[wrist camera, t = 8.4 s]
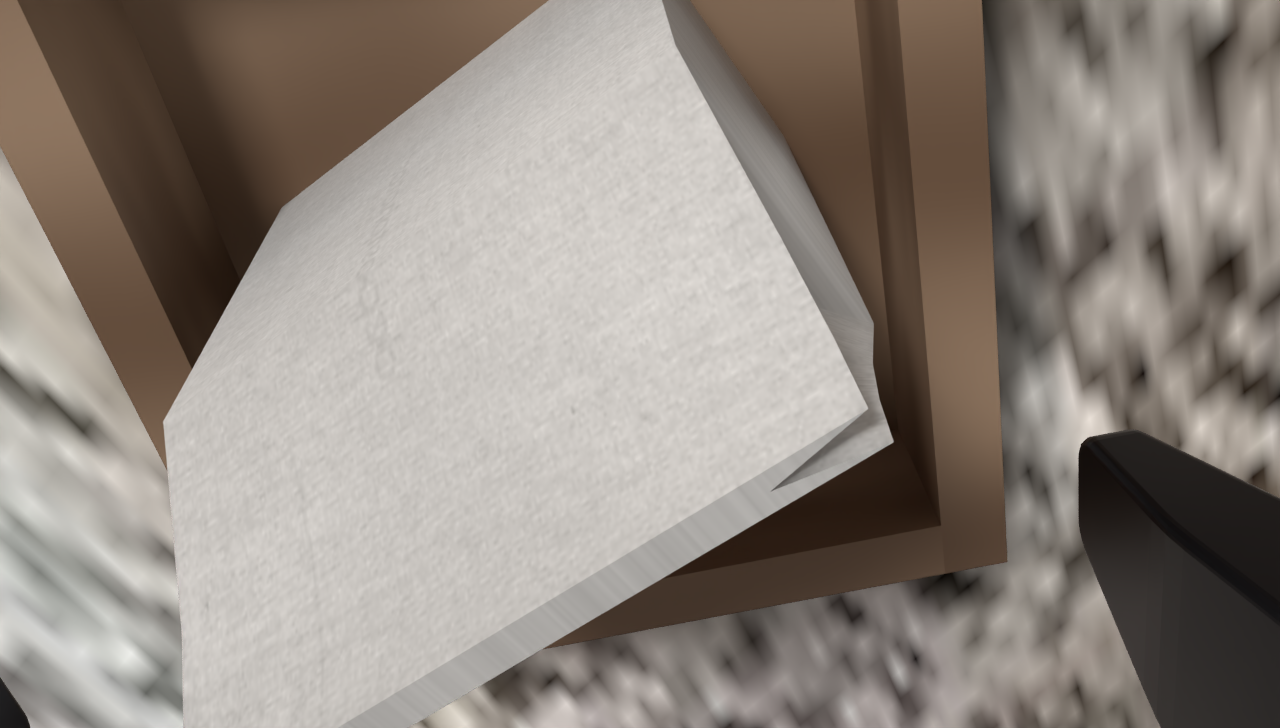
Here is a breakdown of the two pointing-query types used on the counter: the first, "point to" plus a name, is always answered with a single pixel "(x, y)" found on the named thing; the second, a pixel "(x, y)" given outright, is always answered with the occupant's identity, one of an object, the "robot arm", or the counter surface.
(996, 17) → the counter surface
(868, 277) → the walnut tray
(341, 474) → the tea bag
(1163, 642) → the robot arm
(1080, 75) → the counter surface
